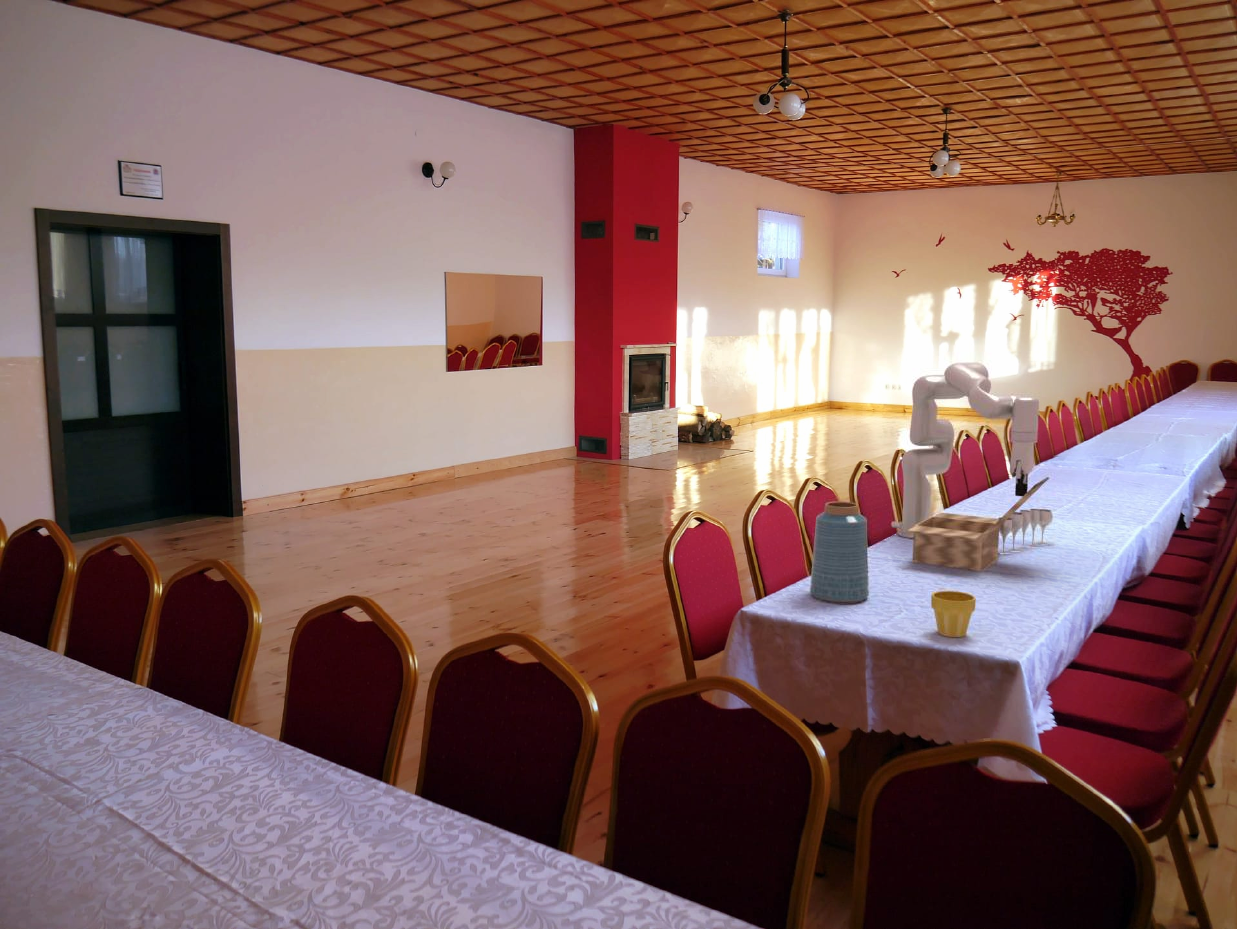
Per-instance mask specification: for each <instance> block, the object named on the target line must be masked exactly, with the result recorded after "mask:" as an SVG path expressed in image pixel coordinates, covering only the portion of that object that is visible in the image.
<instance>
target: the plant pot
mask: <svg viewBox="0 0 1237 929" xmlns="http://www.w3.org/2000/svg"><path fill="white" fill-rule="evenodd" d="M930 597H931V598H930V599H931V602H930V604H931V605H930V606H931V608H932V609H933V613H934V618H935V621H936V622H935V623H936V628H937V632H938V634H939V635H941V636H944V637H948V638H964V637H966V635H967V631H968V628H969V624H970V622H971V621H970V620H971V617H972V613H974V612H975V610H976V601H977V600H976V597H975V596H974V595H973V594H971V593H968V592H964V591H958V590H939V591H937V590H936V591H934V592H932V594H931V596H930Z"/></svg>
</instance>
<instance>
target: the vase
mask: <svg viewBox="0 0 1237 929" xmlns="http://www.w3.org/2000/svg"><path fill="white" fill-rule="evenodd" d="M859 512H860V510H859V504H857V503H856V502H851V501H842V500H841V501H829V502H826V503H825V505H824V511H823V512H821V513H820V514H818V515H817V516H816V518H815V530H814V531H815V532H814V539H813V540H814V541H813V553H812V555H813V556H812V563H811V566H812V567H811V574H810V578H811V579H810V587H809V592H810V594H811V595H812V596H813V598H815V599H816V600H817V599H818V601H821V602H825V603H826V602H827V603H830V604H831V603H832V604H840V605H841V604H842V605H843V604H844V605H845V604H846V605H847V604H856V603H859V602H862V601H864V600H866V599H867V598H868V597H869V596H870V595H869V594H870V589H869V587H870V586H869V584H870V583H869V577H870V576H869V562H868V561H869V560H868V558H869V557H868V527H867V526H868V524H867V523H868V519H867V517H865V516H863V515H862V514H861V513H859Z"/></svg>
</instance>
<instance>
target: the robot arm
mask: <svg viewBox="0 0 1237 929" xmlns="http://www.w3.org/2000/svg"><path fill="white" fill-rule="evenodd" d="M989 377H990V376H989V370H988V368H987V367H986V366H985V365H984V364H982V363H980V362H956V363H951V364H950V365H949V366H948V367H946V369H945V370H944V373H943V374H931V375H930V374H929V375H924V376H921V377H919V378H918V379H916V380H915V382H914V383H913V386H912V391H911V392H912V393H911V397H912V412H911V420H910V425H909V426H910V428H909V441H910V443H911V444H912V445H914V446H917V447H918V446H919V447H926V448H914V449H910V450H906V451H905V452H904V454H903V455H902V456H901V457H902V458H901V467H902V475H903V494H902V495H903V498H902V499H903V501H902V521H900V522H898V521H891V523H890V524H891V527H892V528H894V529H898V530H897V535H898V536H900V537H903V538H907V539H908V538H909V539H914V533H911V532H908V530H909V529H911V528H913V527H914V525H916V524H918V523H920V522H922V521H924V520H926V519H928V518H929V517H931V504H932V502H931V501H932V487H931V484H930V482H929V480H928V478H927V476H930V475H942V474H944V473H946V472H948V471H949V469H950V467H951V462H952V456H953V450H954V440H955V429H954V425H953V424H952V423H951V422H950V420H948V419H945V418H938V413H939V412H938V411H939V409H938V405H937V402H936V401H935V400H956V399H962V398H965V397H966V398H967V399H968V404H969V406H970V408H971V410H972V411H974V412H975V413H977V414H979V415H980V416H981V417H983V418H985V419H988V420H1007V419H1008V420H1010V419H1011V425H1010V428H1011V431H1010V442H1011V443H1012V446H1011V451H1010V452H1011V453H1010V454H1011V455H1010V464H1009V473H1010V474H1011V475H1013V474H1015V488H1014V490H1015V491H1014V492H1015V493H1014V495H1015V496H1016V497H1023V496H1024V495H1025V494H1026V493H1027V492H1028V488H1029V487H1028V486H1029V484H1028V483H1029V473H1031V472H1032V471H1033V469H1034V452H1035V450H1034V449H1035V448H1034V447H1035V446H1034V444H1036V443H1038V433H1039V432H1038V430H1039V416H1040V415H1039V413H1040V412H1039V410H1040V401H1039V399H1038V398H1037V397H1036V396H1035V397H1034V396H1023V395H1020V394H993V395H992V394H990V392H991V389H992V382H991V381H990V379H989ZM927 446H928V448H927ZM929 447H931V448H929Z"/></svg>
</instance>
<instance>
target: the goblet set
mask: <svg viewBox="0 0 1237 929" xmlns="http://www.w3.org/2000/svg"><path fill="white" fill-rule="evenodd" d="M1002 517H1003V516H1001V517H998V518H997V519H1001V518H1002ZM1053 519H1054V518H1053V512H1052V510H1050V509H1045V508H1044V509H1043V508H1042V509H1040V508H1030V509H1029V510H1028V509H1021V510H1019V512H1018V511H1015V512H1014V513H1013V514H1012V515H1011V516H1010V517H1009V518H1008V519H1007V520H1006V521H1005V522H1004V523H1003V524H1002V525H1001V526H999V535H1001V538H1002V551H998V553H1004V554H1005V553H1009V552H1008V551H1020V549H1028V548H1032V547H1037V546H1038V545H1036V544H1045V545H1047V544H1048V542H1047V543H1046V542H1044V532H1045V529H1046V528H1047V526H1049V525H1050V524H1052V522H1053ZM1029 525H1031V531H1032V542H1031V544H1027V545H1026V547H1024V545H1025V535H1026V532H1027V529H1028V528H1029ZM1037 526H1039V527H1040V529H1041V541H1040V542H1035V543H1036V544H1034V539H1035V532H1036V528H1037ZM1020 529H1021V531H1022V546H1020V548H1019V549H1015V541H1016V535H1017V533H1018V532H1019V531H1020ZM1010 533H1012V548H1011V549H1010V548H1009V549H1010V550H1008V551H1005V544H1006V539H1007V536H1009V534H1010ZM1027 546H1030V547H1027ZM1047 546H1048V545H1047ZM1037 548H1038V547H1037Z"/></svg>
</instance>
